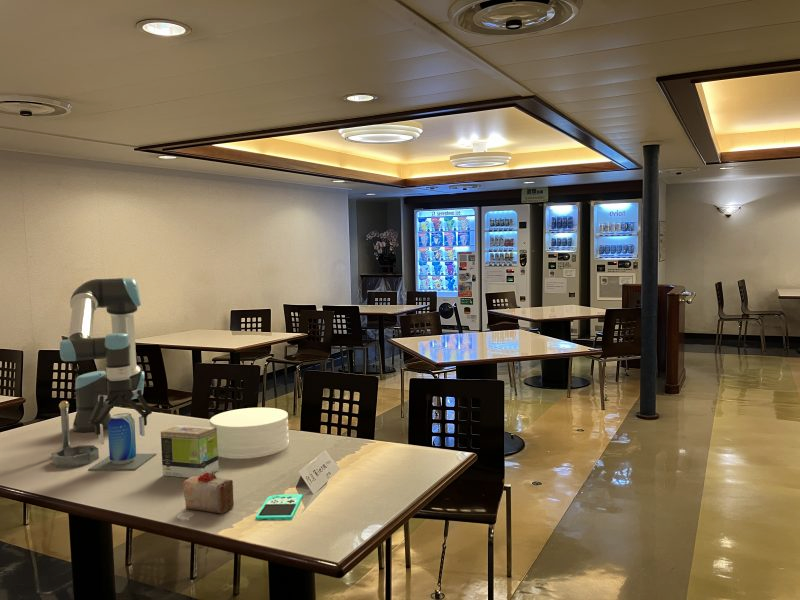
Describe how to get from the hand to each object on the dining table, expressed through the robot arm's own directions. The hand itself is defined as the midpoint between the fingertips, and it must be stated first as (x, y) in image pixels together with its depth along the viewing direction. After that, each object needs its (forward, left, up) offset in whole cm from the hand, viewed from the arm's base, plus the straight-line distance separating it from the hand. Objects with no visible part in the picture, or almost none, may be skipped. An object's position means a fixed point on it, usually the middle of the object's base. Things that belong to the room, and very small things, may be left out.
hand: (122, 439), depth 212 cm
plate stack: (-17, +40, -8) cm, 44 cm away
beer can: (0, 0, -8) cm, 8 cm away
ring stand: (-4, -20, -8) cm, 22 cm away
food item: (+39, +44, -8) cm, 60 cm away
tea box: (+11, +28, -8) cm, 31 cm away
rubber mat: (0, 0, -8) cm, 8 cm away
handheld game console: (+40, +64, -9) cm, 76 cm away
